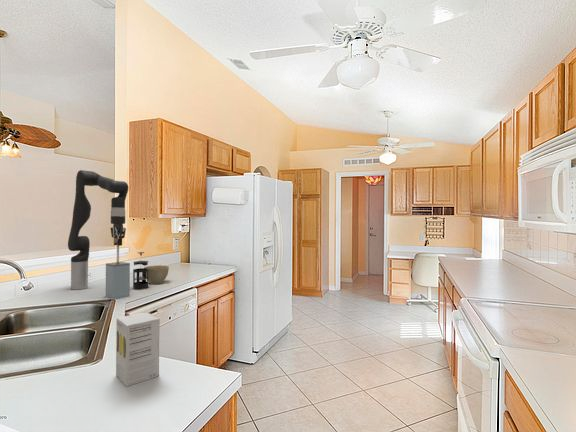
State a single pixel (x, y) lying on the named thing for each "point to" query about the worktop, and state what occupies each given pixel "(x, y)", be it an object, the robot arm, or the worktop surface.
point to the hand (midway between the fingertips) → (117, 245)
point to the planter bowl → (157, 274)
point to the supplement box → (137, 348)
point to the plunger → (117, 249)
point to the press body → (117, 280)
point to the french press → (143, 283)
